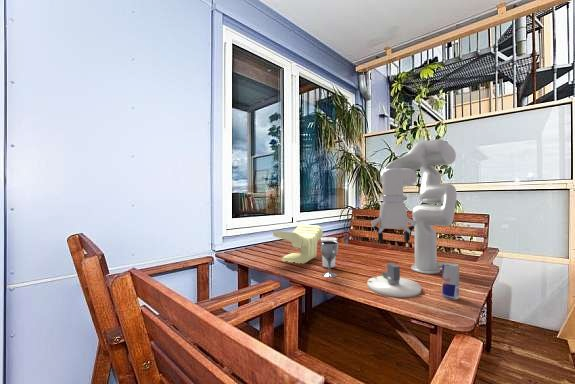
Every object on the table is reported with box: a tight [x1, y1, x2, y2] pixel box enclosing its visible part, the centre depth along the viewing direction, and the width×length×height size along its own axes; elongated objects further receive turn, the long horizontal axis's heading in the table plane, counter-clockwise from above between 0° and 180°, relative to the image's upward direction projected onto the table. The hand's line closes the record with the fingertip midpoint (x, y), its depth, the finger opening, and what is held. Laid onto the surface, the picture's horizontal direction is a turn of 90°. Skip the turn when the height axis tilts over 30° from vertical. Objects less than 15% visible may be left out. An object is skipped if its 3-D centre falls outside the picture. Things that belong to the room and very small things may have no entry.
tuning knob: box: [382, 262, 401, 284], centre depth 115 cm, size 12×4×7 cm, turn 4°
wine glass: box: [320, 241, 339, 278], centre depth 128 cm, size 8×8×15 cm
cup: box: [320, 236, 338, 268], centre depth 142 cm, size 8×8×14 cm
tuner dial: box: [366, 275, 422, 298], centre depth 111 cm, size 20×20×2 cm
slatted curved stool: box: [272, 224, 324, 264], centre depth 156 cm, size 30×16×18 cm, turn 151°
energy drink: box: [441, 262, 460, 301], centre depth 101 cm, size 5×5×12 cm
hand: (393, 242), depth 111 cm, fingers open, 9 cm apart
